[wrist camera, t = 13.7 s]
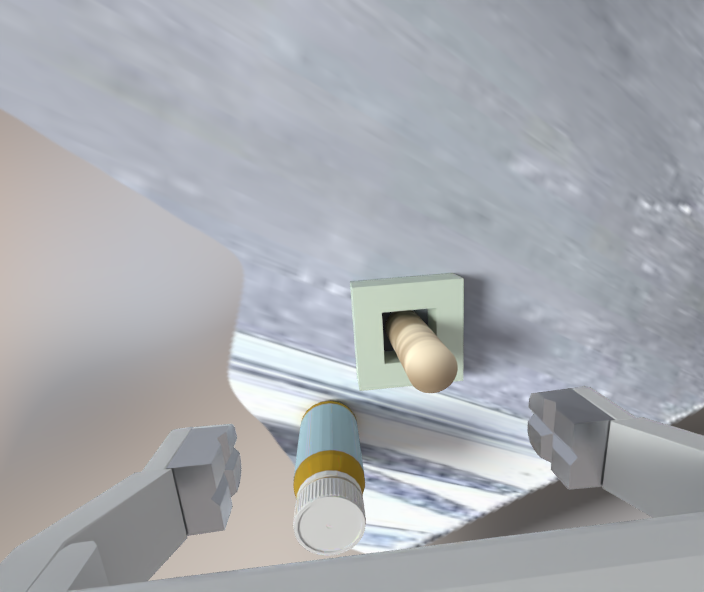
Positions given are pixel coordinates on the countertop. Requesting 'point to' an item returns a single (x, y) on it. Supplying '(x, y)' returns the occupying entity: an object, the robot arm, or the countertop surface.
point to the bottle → (329, 481)
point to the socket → (401, 295)
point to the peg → (421, 352)
